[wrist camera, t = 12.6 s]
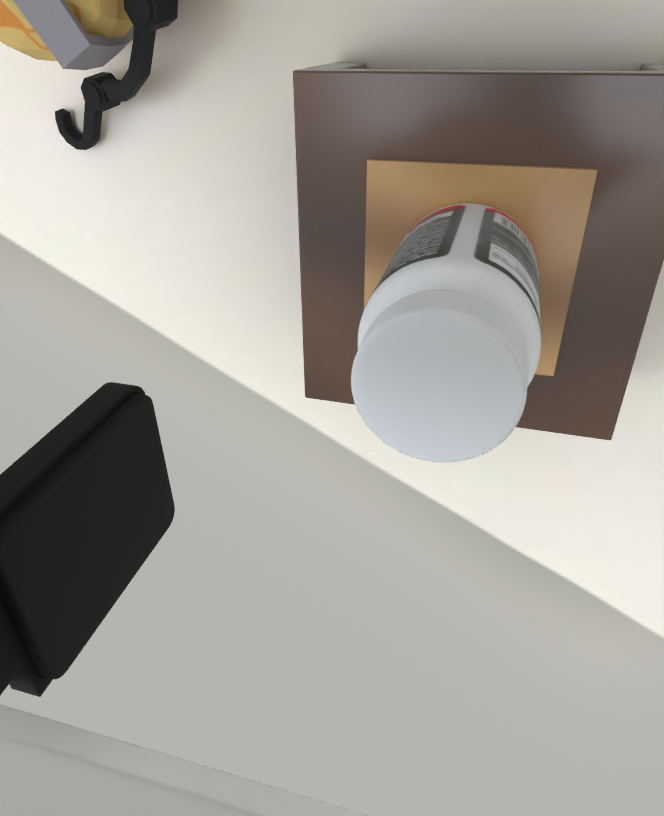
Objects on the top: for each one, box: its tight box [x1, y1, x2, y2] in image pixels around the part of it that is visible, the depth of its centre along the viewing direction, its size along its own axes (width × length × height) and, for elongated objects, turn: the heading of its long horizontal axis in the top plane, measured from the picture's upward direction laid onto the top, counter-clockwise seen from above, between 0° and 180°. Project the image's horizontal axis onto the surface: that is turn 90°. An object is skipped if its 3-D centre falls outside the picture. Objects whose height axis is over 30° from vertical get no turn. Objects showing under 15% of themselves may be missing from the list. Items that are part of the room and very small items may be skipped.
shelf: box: [293, 62, 664, 440], centre depth 23 cm, size 12×12×5 cm
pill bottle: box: [351, 203, 542, 462], centre depth 17 cm, size 5×5×8 cm
